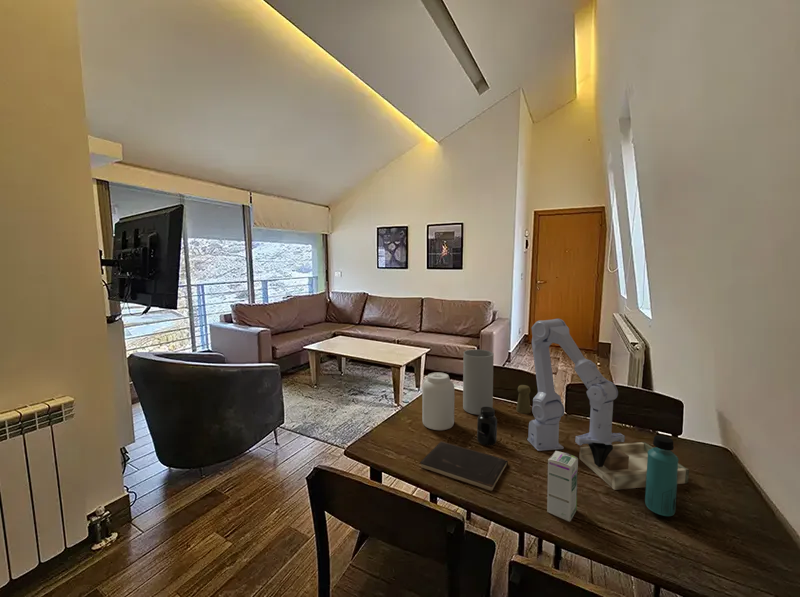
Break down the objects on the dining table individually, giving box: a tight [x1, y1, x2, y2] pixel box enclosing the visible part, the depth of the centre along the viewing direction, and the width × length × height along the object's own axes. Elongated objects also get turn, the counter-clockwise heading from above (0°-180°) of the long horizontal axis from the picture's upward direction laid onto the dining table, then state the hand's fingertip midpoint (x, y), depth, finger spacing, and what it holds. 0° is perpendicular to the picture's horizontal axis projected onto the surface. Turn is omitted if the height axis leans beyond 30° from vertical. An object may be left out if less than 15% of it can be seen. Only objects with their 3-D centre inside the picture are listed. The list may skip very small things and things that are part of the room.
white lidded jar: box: [421, 371, 455, 431], centre depth 141 cm, size 12×12×20 cm
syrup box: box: [546, 450, 579, 523], centre depth 91 cm, size 6×6×14 cm
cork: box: [515, 384, 532, 415], centre depth 153 cm, size 6×6×11 cm
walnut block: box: [604, 449, 629, 471], centre depth 108 cm, size 6×4×4 cm, turn 97°
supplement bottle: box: [476, 407, 498, 447], centre depth 127 cm, size 7×7×12 cm
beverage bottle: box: [644, 434, 679, 517], centre depth 90 cm, size 6×7×20 cm
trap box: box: [578, 441, 690, 491], centre depth 109 cm, size 23×16×4 cm
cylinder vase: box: [462, 349, 495, 416], centre depth 154 cm, size 12×12×25 cm
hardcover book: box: [419, 440, 509, 491], centre depth 113 cm, size 16×23×2 cm
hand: (598, 465), depth 108 cm, fingers closed
